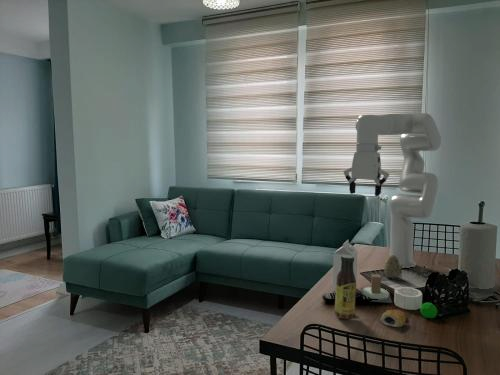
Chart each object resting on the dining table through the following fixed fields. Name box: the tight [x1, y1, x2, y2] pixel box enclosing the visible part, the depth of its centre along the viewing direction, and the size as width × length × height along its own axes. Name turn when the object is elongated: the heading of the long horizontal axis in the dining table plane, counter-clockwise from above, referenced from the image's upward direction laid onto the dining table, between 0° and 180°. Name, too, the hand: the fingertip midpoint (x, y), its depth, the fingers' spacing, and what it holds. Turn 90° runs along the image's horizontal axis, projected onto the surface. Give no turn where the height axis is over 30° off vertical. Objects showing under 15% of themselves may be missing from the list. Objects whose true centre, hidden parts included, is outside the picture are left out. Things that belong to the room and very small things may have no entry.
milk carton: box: [332, 239, 358, 293], centre depth 150 cm, size 7×7×19 cm
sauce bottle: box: [334, 255, 357, 320], centre depth 130 cm, size 6×6×20 cm
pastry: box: [379, 309, 407, 328], centre depth 127 cm, size 9×7×4 cm
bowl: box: [393, 286, 423, 311], centre depth 138 cm, size 8×8×5 cm
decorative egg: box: [384, 255, 401, 280], centre depth 162 cm, size 6×6×10 cm
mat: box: [359, 287, 393, 304], centre depth 146 cm, size 12×10×1 cm
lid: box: [363, 273, 390, 300], centre depth 146 cm, size 9×9×7 cm
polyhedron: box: [419, 302, 438, 319], centre depth 129 cm, size 5×5×5 cm
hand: (364, 194), depth 152 cm, fingers open, 9 cm apart
